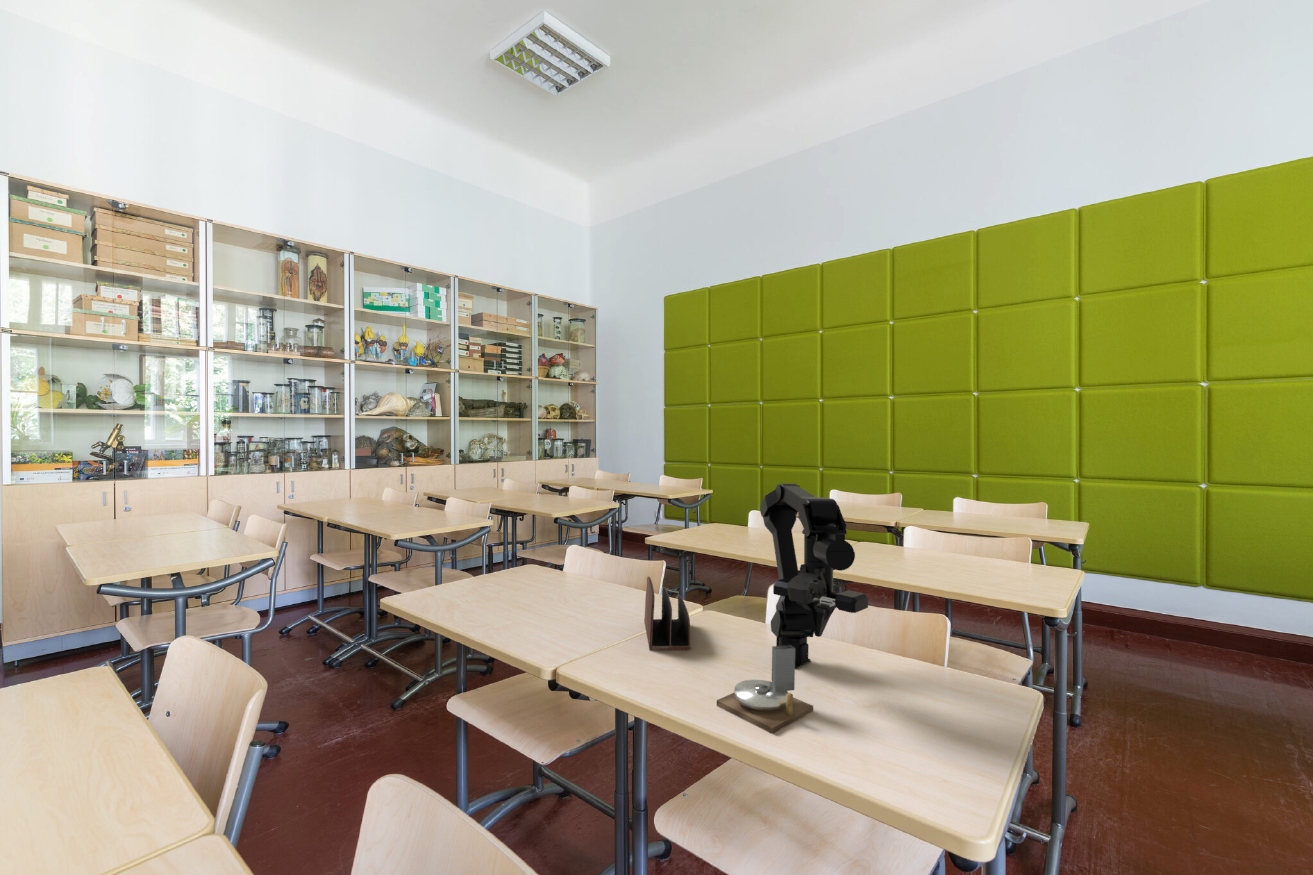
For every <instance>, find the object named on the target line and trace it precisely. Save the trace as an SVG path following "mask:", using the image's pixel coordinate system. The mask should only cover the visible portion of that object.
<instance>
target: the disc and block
mask: <svg viewBox="0 0 1313 875" xmlns="http://www.w3.org/2000/svg"><path fill="white" fill-rule="evenodd" d="M771 647H772V648H771V650H772V651H771V681H770V680H764V679H748V680H747V679H746V680H744V681H743V680H742V681H739V682H738V683H736V685H735V686H734V690H733V693H734V696H735V699H736V700H737V701H738V702H739V703H740V704H742V705H744V706H746V707H749V708H752V709H756V710H765V711H771V710H778V709H781V708H783V707H785V706H786V694H787V693H789V691H795V682H796V681H795V680H796V678H795V675H796V674H795V673H796V668H795V648H794V647H793V646H792V645H785V646H776V645H773V646H771Z"/></svg>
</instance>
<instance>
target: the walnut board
mask: <svg viewBox="0 0 1313 875" xmlns="http://www.w3.org/2000/svg"><path fill="white" fill-rule="evenodd" d="M716 706H717V707H719V708H721V709H723V710H724V711H726V712H728V713H731V714H733V715H734V716H737V717H738V718H740V719H743V720H744V721H746V722H748V723H750V724H752V725H754V726H756V727H758V728H760V729H762V730H764V731H766V732H768V733H770V734H775V733H776V732H778V731H780V730H782V729H784V728H785V727H788V726H789V725H791V724H793V723H795V722H797V721H799V720H800V719H803V718H804V717H806V716H808V715H809V714H811V713H812V712H814V705H812V704H810V703H808V702H805V701H803V700H801V699H799V698H796V697H794V695H793V693H791V692H788V693H787V694H786V706H785V707H783V708H781V709H778V710H771V711H765V710H756V709H752V708H749V707H746V706H744V705H742V704H740V703H739V702H738V701H737V700H736V699H735V696H734V692H731V694H727V695H725V696H723V697H721V698H718V699H716Z"/></svg>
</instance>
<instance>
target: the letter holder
mask: <svg viewBox="0 0 1313 875" xmlns="http://www.w3.org/2000/svg"><path fill="white" fill-rule="evenodd" d="M645 589H646V590H645V599H644V600H645V601H644V602H645V603H644V627H645V631H646V632H645V633H646V637H647V643H648V650H649V651H690V650H691V622H690V621H691V619H690V615H689V611H688V608H687V606H686V603H685V601H684V599H683V597H682V596H681V595H678V596H677V618H673V606H672V602H671V598H670V595H669V592H668V590H667V588H666V587H665V586H663V587H661V591H662V592H661V618H658V619H657V618H656V619H655V618H654V617H655V601H656V600H655V598H656V597H655V589H654V586H653V581H652V579H651V577H650V576H647V577H646V588H645Z"/></svg>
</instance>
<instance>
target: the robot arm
mask: <svg viewBox="0 0 1313 875" xmlns="http://www.w3.org/2000/svg"><path fill="white" fill-rule="evenodd" d="M759 508H760V509H759V512H760V515H761V517H762V519H763V524H764V527H765V528H766V530H768V531H769V533H770V534H771V535H772V541H773V546H774V547H773V548H774V553H775V554H774V555H775V561H776V568H777V574H778V579H777V580H776V581H775V582H774V583H773V586H772V588H773V589H772V590H773V591H772V592H773V595H775V596H776V595H777V596H779V597H778V600H777V602H776V604H775V612H774V614H773V616H772V618H771V620H770V631H771V632H772V633H773V635H774V636H775V637H776V642H775V643H776V645H775V646H785V645H792V646H793V647H794V648H795V669H797V668H800V667H802V666H804V665H806V664H808V663H810V662H811V660H812V659H811V658H809V648H810V647H809V646H810V645H809V643H808V638H813V637H814V636H815V637H818V638H820V637H822V635H823V633H824V631H825V629H826V627H827V624H828V622H829V620H830V618H831V616H832V615H833V613H834V612H835V610H836V609H838V610H839V611H841V612H847V613H851V614H856V613H858V612H861V611H863V610H866V609H869V599H868V597H867V595H866V594H865V592H864V593H863V592H859V591H854V590H850V589H849V590H845V591H842V592H834V591H836V590H837V584H834V571H846V570H848V569H849V568H850V567H852V565H853V564H854V562H855V559H856V552H855V550H854V547H853V546H852V544H851V543H850V542H848V541H846V535H847V532H848V531H847V529H846V528H847V523H846V521H845V518H844V516H843V514H842V511H841V508H840V506H839V504H838V502H837V501H836V500H835V499H834V498H829V497H820V496H814V495H813V494H812V493H810V492H808V491H807V490H805V489H803V488H802V487H800V484H797V483H780V484H777V485H776V487H775V489H774V490H772V491H770V492H769V493H768V494H766V495H765V496H764V497H763V499H762V501H761V504H760V507H759ZM797 515H798V516H797ZM797 517H798V519H799V521H800V523H801V526H802V528H803V529H802V531H801V533H802V534H803V537H804V538H803V541H804V542H803V544H804V545H803V550H804V552H803V555H804V556H803V558H804V559H803V564H800V567H798V561H797V555H796V548H795V544H794V543H795V542H794V536H793V531H792V530H793V528H794V526H795V524H796V523H797V522H796V521H797Z"/></svg>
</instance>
